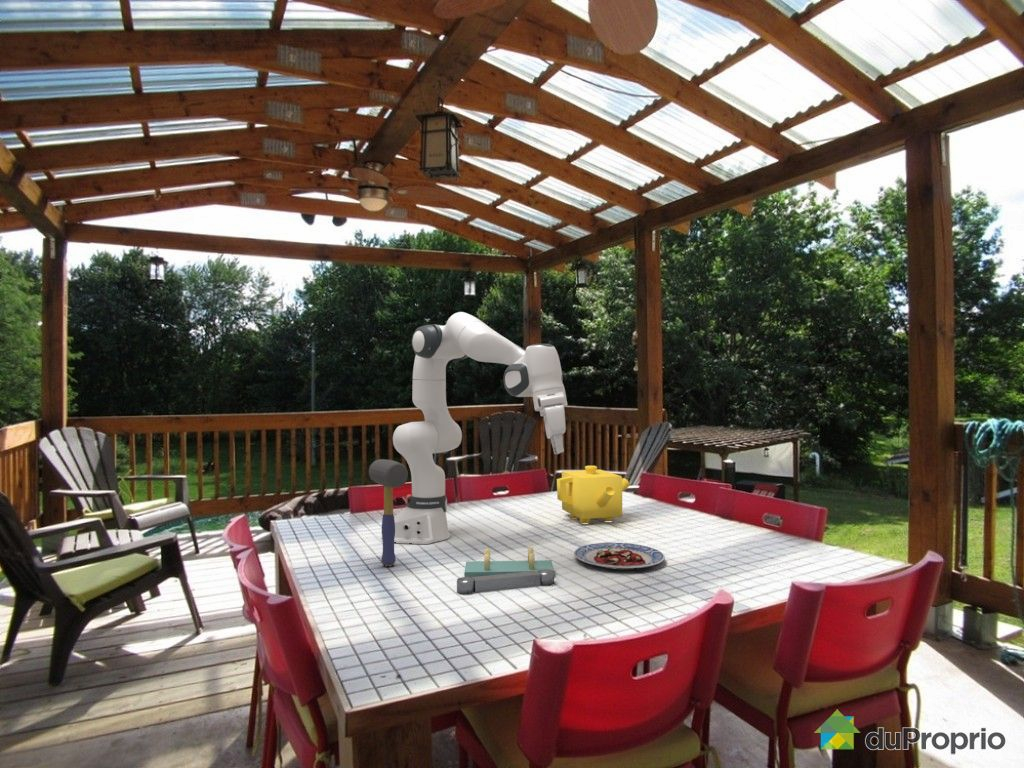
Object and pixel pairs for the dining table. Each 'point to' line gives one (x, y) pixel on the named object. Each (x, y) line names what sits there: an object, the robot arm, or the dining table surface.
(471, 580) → the grey dumbbell
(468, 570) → the peg rack
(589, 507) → the yellow teapot
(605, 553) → the ceramic plate
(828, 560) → the dining table surface
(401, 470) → the rubber mallet
